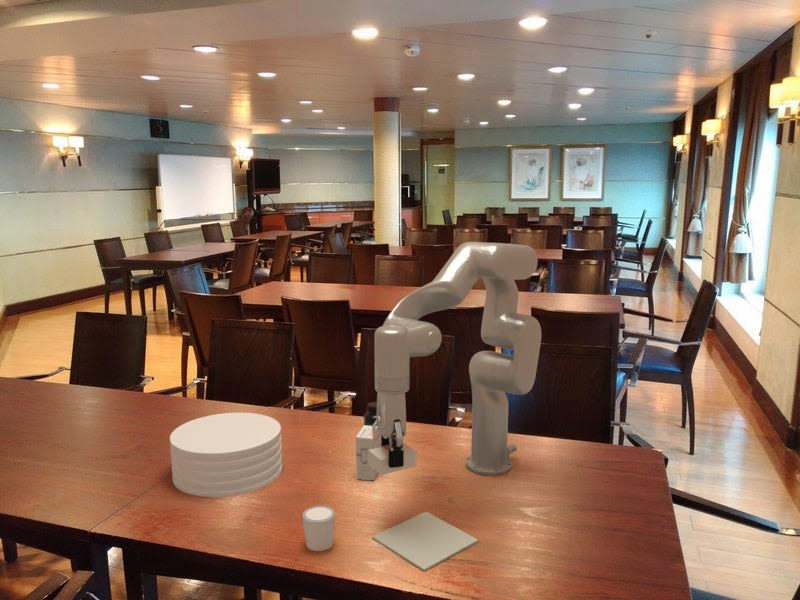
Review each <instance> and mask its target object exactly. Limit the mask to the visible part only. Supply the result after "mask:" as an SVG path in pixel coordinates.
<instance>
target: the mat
mask: <svg viewBox="0 0 800 600" xmlns="http://www.w3.org/2000/svg"><path fill="white" fill-rule="evenodd" d="M371 538H372V539H371V540H373V541H375V542H376V543H378V544H380V545H381V546H383V547H384V548H386V549H387V550H389V551H391V552H392V553H394V554H396V555H397V556H398V557H399V558H402V559H404V560H405V561H406V562H408V563H409V564H412V565H413V566H415V567H416V568H417V569H419V570H420V571H422V572H424V573H425V572H426V571H428V570H430V569H432V568H433V567H436V566H438V565H439V564H441V563H442V562H444V561H446V560H449V559H450V558H452V557H453V556H455V555H457V554H459V553H461V552H462V551H464V550H466V549H469V548H470V547H472V546H473V545H475V544H478V543H479V539H478V538H476V537H474V536H473V535H470V534H469V533H467V532H465V531H463V530H461V529H460V528H457V527H455V526H453V525H451V524H449V523H448V522H446V521H445V520H443V519H440V518H439V517H437V516H435V515H433V514H431V513H429V512H427V511H424V512H422V513H420V514H418V515H416V516H413V517H411V518H409V519H407V520H405V521H402V522H400V523H399V524H396V525H395V526H392V527H390V528H387V529H385V530H383V531H381V532H378V533H377V534H375V535H373V536H372V537H371Z"/></svg>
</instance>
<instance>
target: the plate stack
mask: <svg viewBox="0 0 800 600" xmlns="http://www.w3.org/2000/svg"><path fill="white" fill-rule="evenodd" d="M169 444H170V449H169V450H170V461H171V474H172V476H171V477H172V478H171V480H172V483H173V485H174V487H175V488H176V489H177V490H179V491H181V492H183V493H185V494H188V495H192V496H196V497H202V498H203V497H204V498H206V497H207V498H222V497H230V496H238V495H244V494H247V493H250V492H251V493H252V492H254V491H257V490H258V489H261V488H263V487H265V486H268V485H269V484H271V483H273V482H274V481H275V480H276V479H277V478H278V477H279V476H280V475H281V474H282V471H283V455H282V451H283V449H282V427H281V424H280V422H279V421H278V420H276V419H275V418H273V417H271V416H268V415H265V414H259V413H255V412H253V413H252V412H225V413H218V414H217V413H215V414H211V415H207V416H203V417H198V418H195V419H192V420H190V421H186V422H185V423H182V424H181V425H179V426H178V427H176V428H175V429H174V430H173V431H172V432H171V434H170V436H169Z"/></svg>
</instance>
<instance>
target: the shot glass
mask: <svg viewBox="0 0 800 600" xmlns="http://www.w3.org/2000/svg"><path fill="white" fill-rule="evenodd" d="M335 519H336V511H335V510H334V508H332V507H330V506H327V505H315V506H310V507H308V508H307V509H305V510H304V511H303V512H302V520H303V521H302V522H303V523H302V524H303V531H304V540H305V545H306V548H307V547H308V548H307V549H308V550H310V551H313V550H314V551H313V552H323V551H327V550H329V549H330V548H331V547H332V546H333V544H334V535H335V534H334V533H335V523H336V522H335V521H336V520H335ZM326 549H327V550H326Z"/></svg>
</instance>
